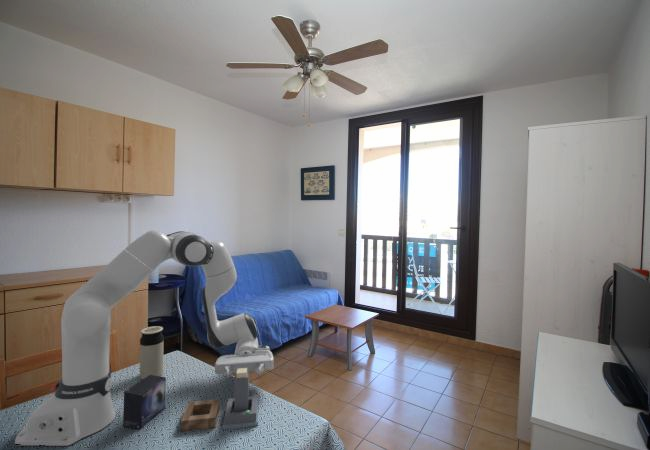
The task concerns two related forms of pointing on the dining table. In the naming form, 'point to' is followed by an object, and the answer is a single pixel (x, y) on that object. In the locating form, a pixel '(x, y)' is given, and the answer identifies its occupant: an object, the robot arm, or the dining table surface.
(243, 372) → the plug
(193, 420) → the frame
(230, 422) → the dock
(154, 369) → the travel mug
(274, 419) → the dining table surface
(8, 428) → the dining table surface
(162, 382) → the small box
